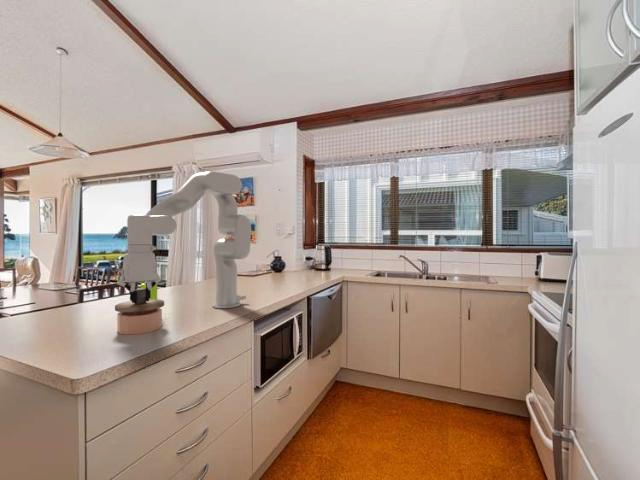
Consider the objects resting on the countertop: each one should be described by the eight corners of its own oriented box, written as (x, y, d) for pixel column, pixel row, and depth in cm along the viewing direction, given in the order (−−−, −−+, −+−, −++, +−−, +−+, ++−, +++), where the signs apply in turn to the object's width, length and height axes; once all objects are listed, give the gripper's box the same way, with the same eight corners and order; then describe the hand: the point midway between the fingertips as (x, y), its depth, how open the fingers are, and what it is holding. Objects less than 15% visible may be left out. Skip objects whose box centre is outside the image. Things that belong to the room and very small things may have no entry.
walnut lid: (159, 300, 119) (159, 284, 119) (168, 307, 107) (168, 290, 107) (112, 306, 109) (112, 288, 109) (117, 314, 98) (117, 295, 97)
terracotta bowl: (154, 321, 117) (154, 305, 117) (166, 328, 108) (166, 311, 108) (114, 328, 108) (114, 311, 108) (123, 337, 99) (123, 318, 99)
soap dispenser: (161, 313, 130) (161, 266, 130) (151, 317, 123) (151, 267, 123) (148, 312, 130) (148, 265, 130) (137, 317, 123) (137, 267, 123)
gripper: (161, 248, 116) (162, 296, 117) (109, 250, 105) (110, 303, 105) (168, 249, 111) (168, 299, 111) (114, 250, 99) (115, 307, 100)
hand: (140, 301), depth 108 cm, fingers closed on walnut lid, 3 cm apart
